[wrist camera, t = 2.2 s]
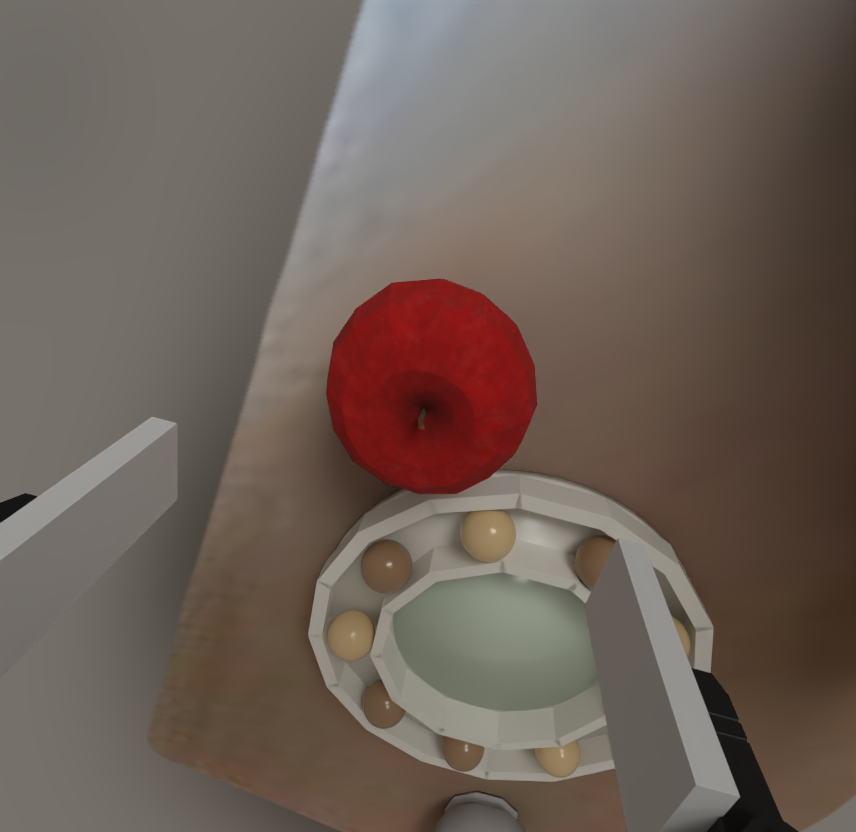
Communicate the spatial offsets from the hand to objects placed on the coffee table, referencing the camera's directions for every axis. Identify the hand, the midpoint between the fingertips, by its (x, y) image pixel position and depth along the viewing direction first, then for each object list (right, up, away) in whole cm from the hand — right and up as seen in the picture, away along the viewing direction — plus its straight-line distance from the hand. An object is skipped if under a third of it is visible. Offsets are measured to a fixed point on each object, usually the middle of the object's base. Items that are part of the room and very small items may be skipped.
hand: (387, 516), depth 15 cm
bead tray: (+7, -13, +23) cm, 27 cm away
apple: (+2, +7, +15) cm, 17 cm away
